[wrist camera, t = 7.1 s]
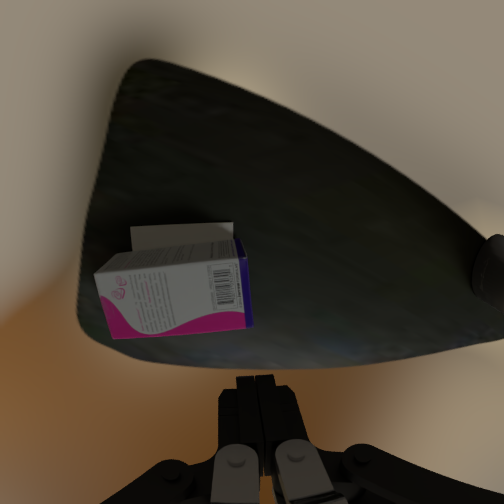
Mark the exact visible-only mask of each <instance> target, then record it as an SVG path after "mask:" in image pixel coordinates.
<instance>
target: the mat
mask: <svg viewBox="0 0 504 504" xmlns="http://www.w3.org/2000/svg"><path fill="white" fill-rule="evenodd" d="M130 230H131V241H132V250H133V251H140V250H148V249H156V248H164V247H173V246H180V245H189V244H197V243H206V242H214V241H222V240H231V239H233V222H223V223H196V224H172V225H152V226H133V227H130Z"/></svg>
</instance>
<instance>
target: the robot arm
mask: <svg viewBox="0 0 504 504" xmlns="http://www.w3.org/2000/svg"><path fill="white" fill-rule="evenodd" d="M472 288H473V291H474V294H475V295H476V296H477V297H478V298H479V299H481V300H483V301H484V302H486V303H487V304H489V305H490V306H492V307H494V308H495V309H497V310H498V311H500V312H501V313H503V314H504V236H503V235H500V234H495V235H493V236H491V237H490V238H488V239H487V240H486V242H485V243H484V244H483V246H482V247H481V249H480V251H479V253H478V255H477V257H476V260H475V263H474V267H473V273H472ZM236 383H237V389H224V390H223V391H222V393H221V394H220V396H219V398H218V399H219V400H218V449H217V452H216V453H215V455H214V456H213V457H211V458H210V459H209V460H207V461H205V462H202V463H198V464H194V465H187V464H186V463H184V462H182V461H180V460H174V459H173V460H172V459H169V460H164V461H161V462H159V463H157V464H156V465H155V466H153V467H152V468H151V469H149V470H148V471H146V472H145V473H144V474H143V475H141V476H140V477H138V478H137V479H135V480H134V481H133V482H131V483H130V484H128V485H127V486H125V487H124V488H123V489H121V490H120V491H118V492H117V493H115V494H114V495H112V496H111V497H109V498H108V499H106V500H105V501H103V502H102V503H100V504H259V491H260V477H261V476H263V467H264V473H265V476H271V477H272V483H273V488H272V492H273V496H274V500H275V504H504V494H501V493H497V492H493V491H490V490H486V489H483V488H479V487H476V486H473V485H470V484H466V483H464V482H460V481H458V480H454V479H452V478H449V477H446V476H443V475H441V474H438V473H435V472H433V471H430V470H427V469H425V468H422V467H420V466H417V465H415V464H412V463H410V462H408V461H405V460H403V459H401V458H398V457H396V456H394V455H391V454H389V453H387V452H385V451H383V450H380V449H378V448H376V447H374V446H372V445H369V444H355V445H352V446H350V447H349V448H347V449H346V450H345V451H344V452H331V451H324V450H321V449H319V448H317V447H315V446H314V445H313V444H312V443H311V442H310V441H309V439H308V436H307V432H306V429H305V426H304V423H303V420H302V416H301V413H300V410H299V407H298V404H297V400H296V396H295V393H294V392H293V391H292V390H291V389H290V388H289V387H288V386H287V385H283V386H276V384H275V379H274V376H273V374H270V375H256V376H255V379H254V376H239V377H236Z"/></svg>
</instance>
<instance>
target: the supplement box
mask: <svg viewBox="0 0 504 504" xmlns="http://www.w3.org/2000/svg"><path fill="white" fill-rule="evenodd" d="M94 278H95V282H96V286H97V290H98V293H99V297H100V300H101V304H102V307H103V311H104V314H105V317H106V320H107V323H108V327H109V330H110V333H111V336H112V338H113V339H126V338H142V337H160V336H173V335H185V334H197V333H207V332H217V331H227V330H236V329H245V328H252V327H254V322H253V312H252V303H251V292H250V281H249V269H248V259H247V254H246V252H245V249H244V247H243V244H242V241H241V239H239V238H238V239H231V240H222V241H214V242H206V243H197V244H189V245H180V246H173V247H164V248H156V249H148V250H140V251H132V252H124V253H117V254H115V255H114V256H113V257H112V258H111V259H110V260H109V261H108V262H107V263H106V264H105V265H103V266H102V267H101V268H100V269H99V270H98V271H96V272H95V273H94Z"/></svg>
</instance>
